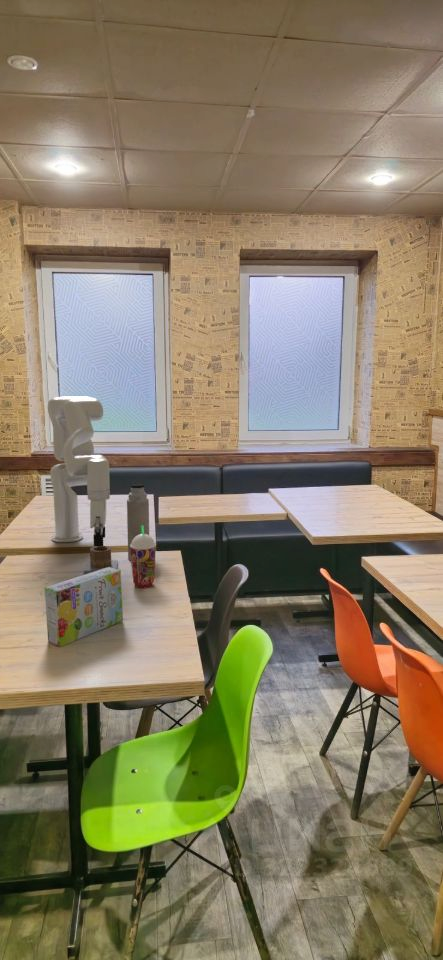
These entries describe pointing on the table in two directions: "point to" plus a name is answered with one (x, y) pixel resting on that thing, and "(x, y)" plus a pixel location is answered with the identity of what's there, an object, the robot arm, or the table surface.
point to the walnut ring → (100, 557)
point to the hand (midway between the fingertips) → (99, 541)
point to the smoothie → (143, 560)
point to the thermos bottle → (137, 513)
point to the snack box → (83, 605)
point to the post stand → (90, 569)
